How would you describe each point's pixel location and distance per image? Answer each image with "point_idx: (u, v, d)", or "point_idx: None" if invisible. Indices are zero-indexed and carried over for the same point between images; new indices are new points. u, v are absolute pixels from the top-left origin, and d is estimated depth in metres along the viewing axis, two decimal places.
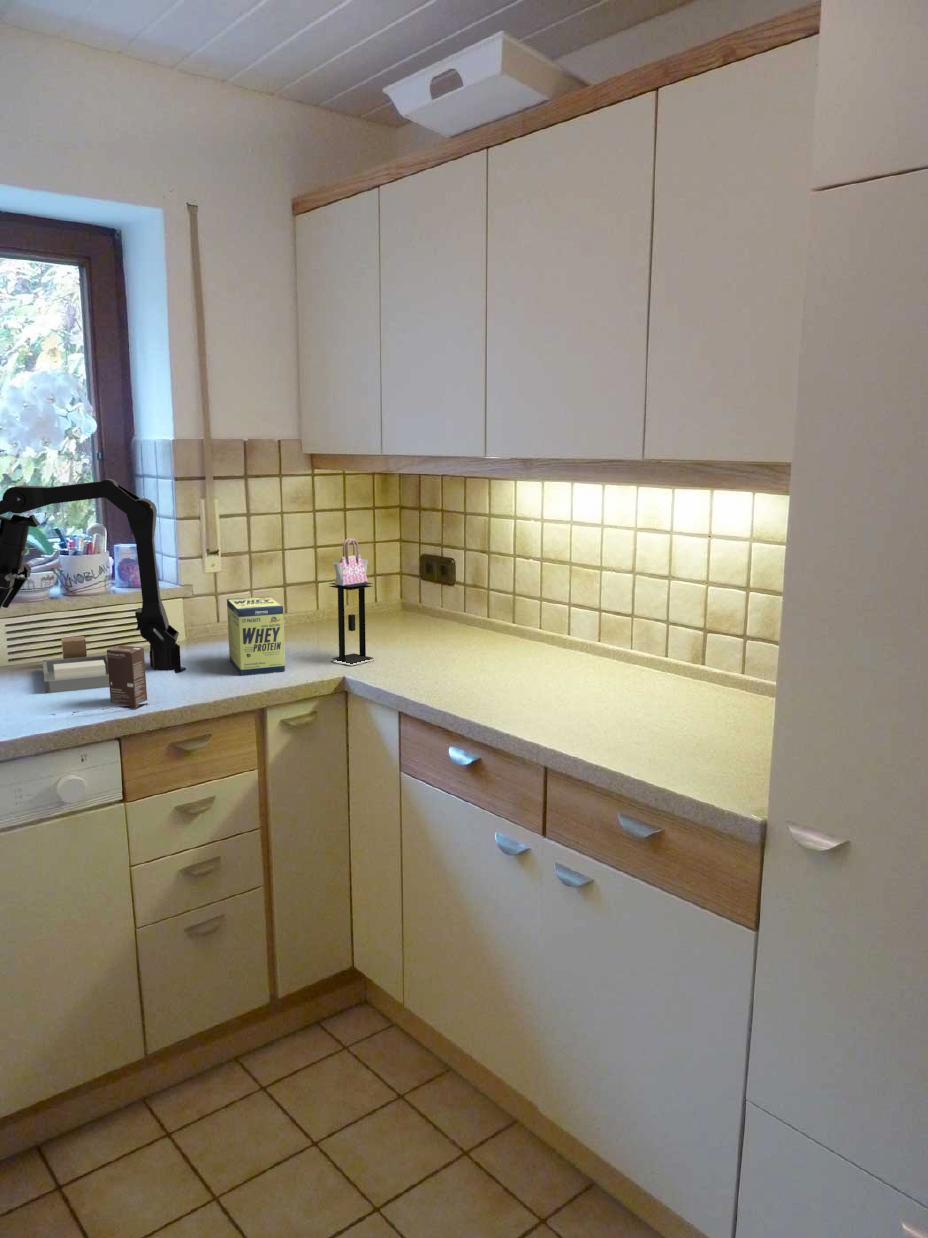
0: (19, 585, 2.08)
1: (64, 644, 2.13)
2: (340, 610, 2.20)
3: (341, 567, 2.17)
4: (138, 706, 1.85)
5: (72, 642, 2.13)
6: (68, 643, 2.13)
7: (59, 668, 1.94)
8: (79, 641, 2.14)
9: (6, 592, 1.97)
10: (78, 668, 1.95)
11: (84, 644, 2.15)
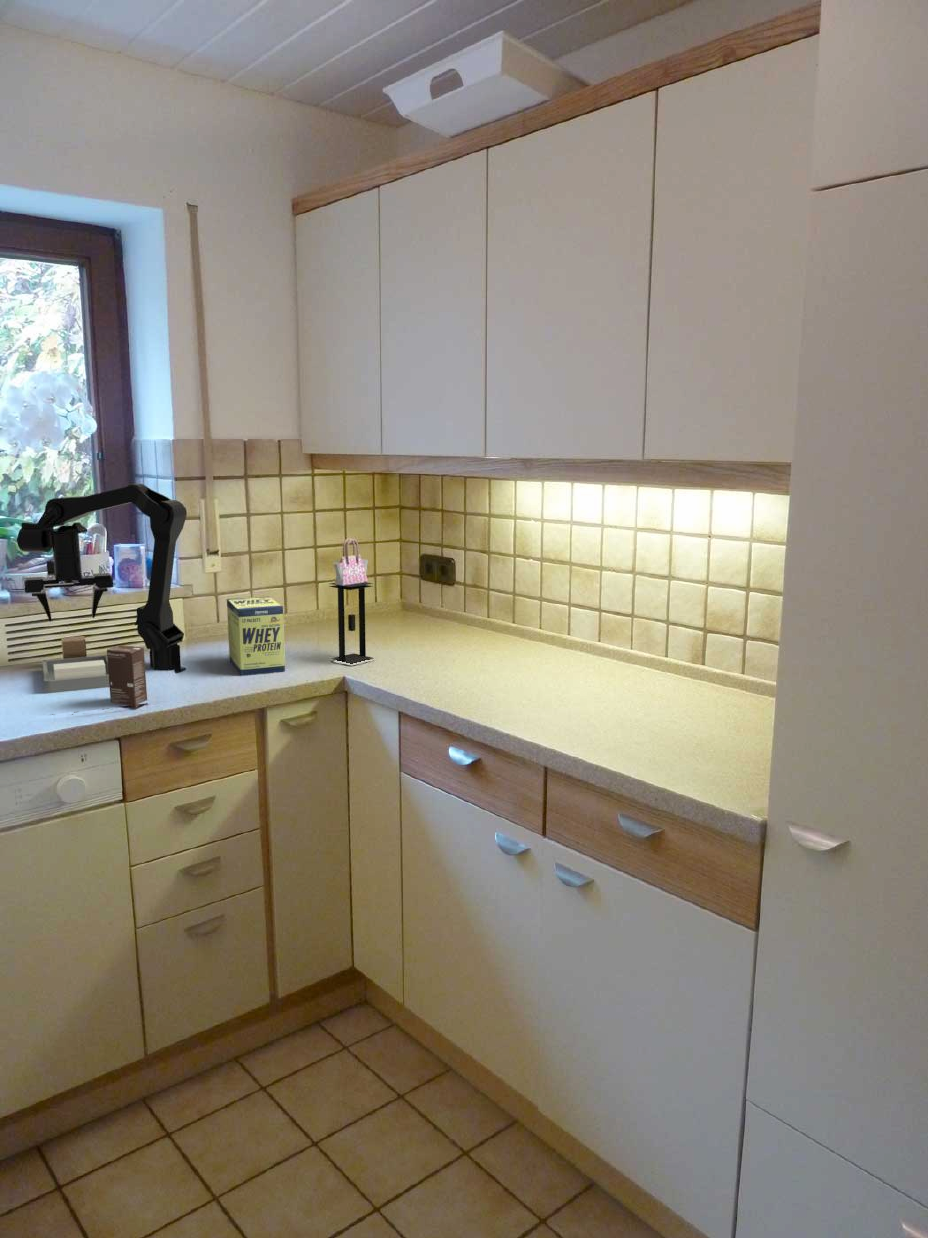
0: (93, 595, 2.14)
1: (64, 644, 2.13)
2: (340, 610, 2.20)
3: (341, 567, 2.17)
4: (138, 706, 1.85)
5: (71, 642, 2.13)
6: (68, 643, 2.13)
7: (59, 668, 1.94)
8: (79, 641, 2.14)
9: None
10: (78, 668, 1.95)
11: (84, 644, 2.15)
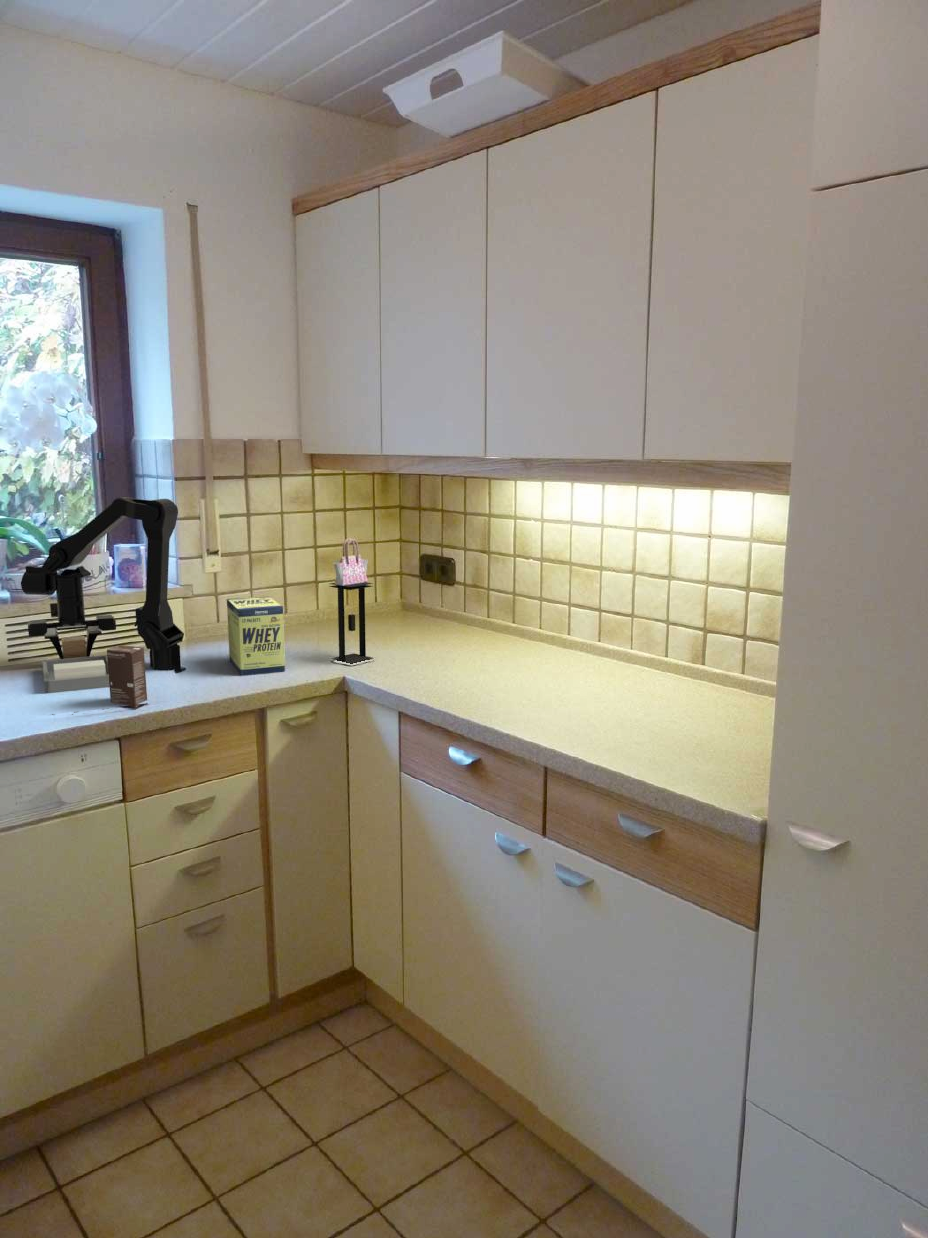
0: (87, 638, 2.15)
1: (64, 644, 2.13)
2: (340, 610, 2.20)
3: (341, 567, 2.17)
4: (138, 706, 1.85)
5: (72, 642, 2.13)
6: (68, 643, 2.13)
7: (59, 668, 1.94)
8: (79, 641, 2.14)
9: None
10: (78, 668, 1.95)
11: (84, 644, 2.15)
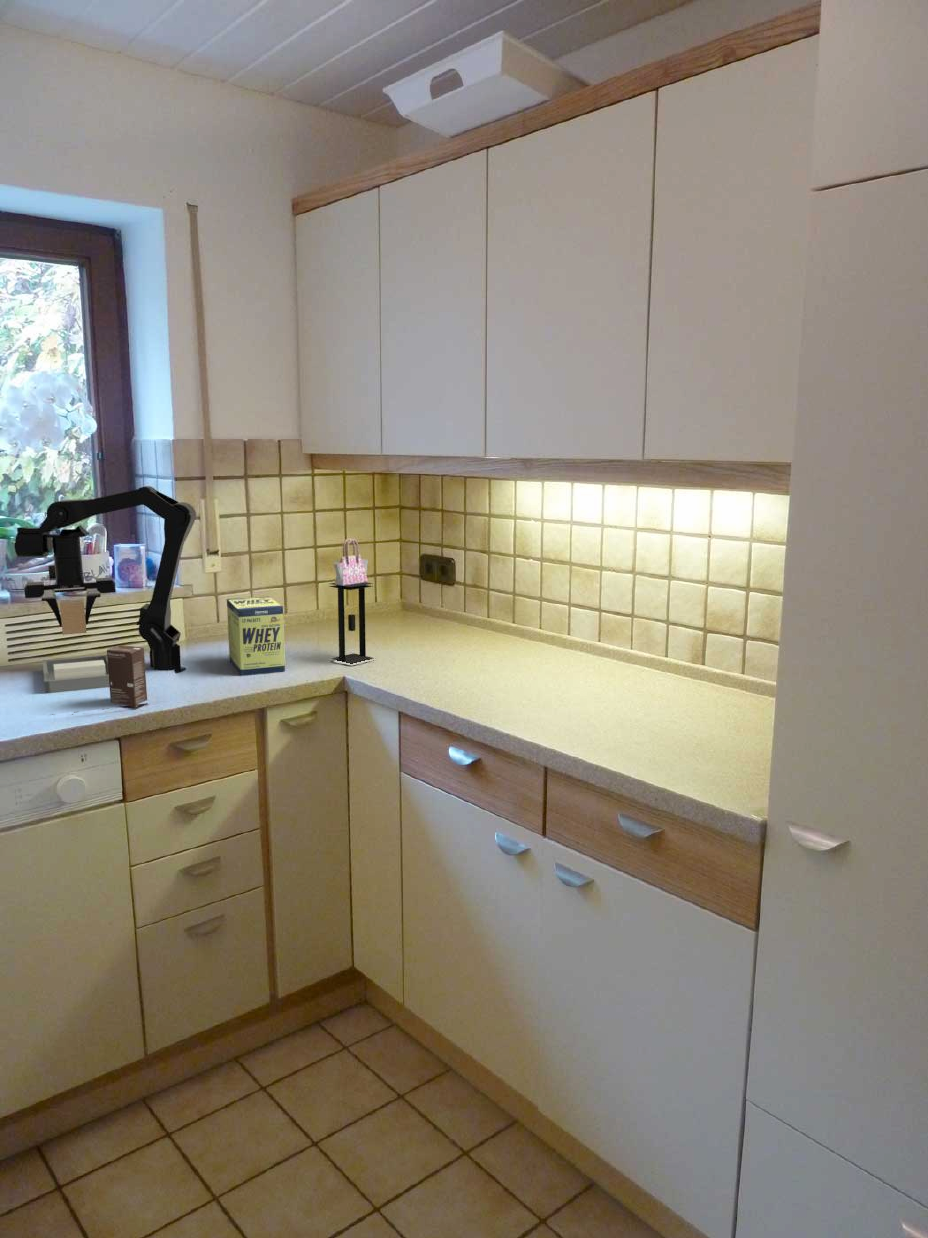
0: (86, 601, 2.08)
1: (62, 606, 2.06)
2: (340, 610, 2.20)
3: (341, 567, 2.17)
4: (138, 706, 1.85)
5: (69, 604, 2.07)
6: (66, 605, 2.06)
7: (59, 668, 1.94)
8: (77, 603, 2.07)
9: None
10: (78, 668, 1.95)
11: (82, 607, 2.08)
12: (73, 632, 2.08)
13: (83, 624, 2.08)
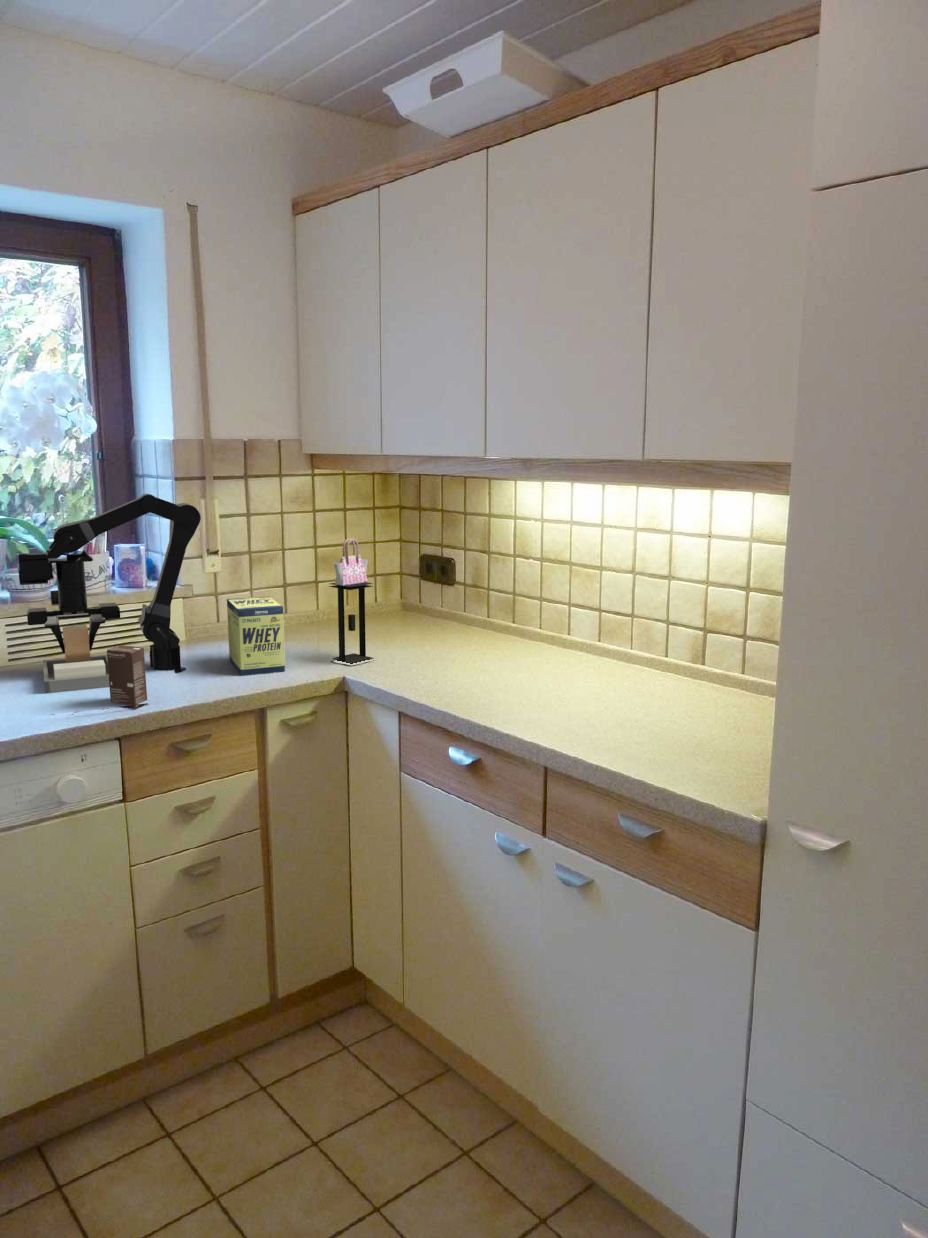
0: (90, 627, 2.04)
1: (65, 633, 2.01)
2: (340, 610, 2.20)
3: (341, 567, 2.17)
4: (138, 706, 1.85)
5: (73, 631, 2.02)
6: (70, 632, 2.02)
7: (59, 668, 1.94)
8: (81, 630, 2.03)
9: None
10: (78, 668, 1.95)
11: (86, 633, 2.03)
12: (77, 659, 2.03)
13: (87, 651, 2.04)
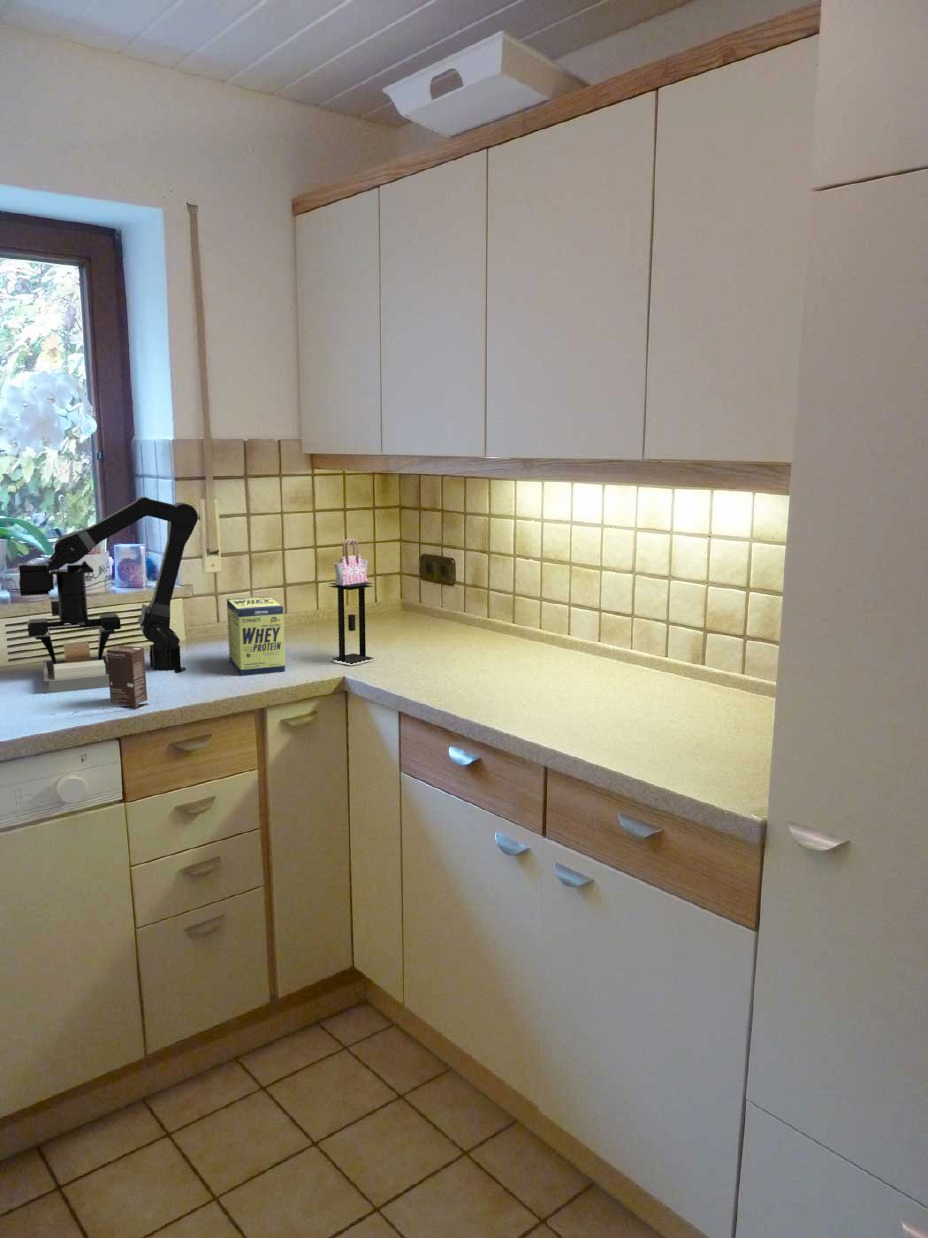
0: (100, 637, 2.05)
1: (66, 650, 2.02)
2: (340, 610, 2.20)
3: (341, 567, 2.17)
4: (138, 706, 1.85)
5: (74, 648, 2.03)
6: (71, 649, 2.02)
7: (59, 668, 1.94)
8: (82, 647, 2.03)
9: None
10: (78, 668, 1.95)
11: (88, 650, 2.04)
12: None
13: None
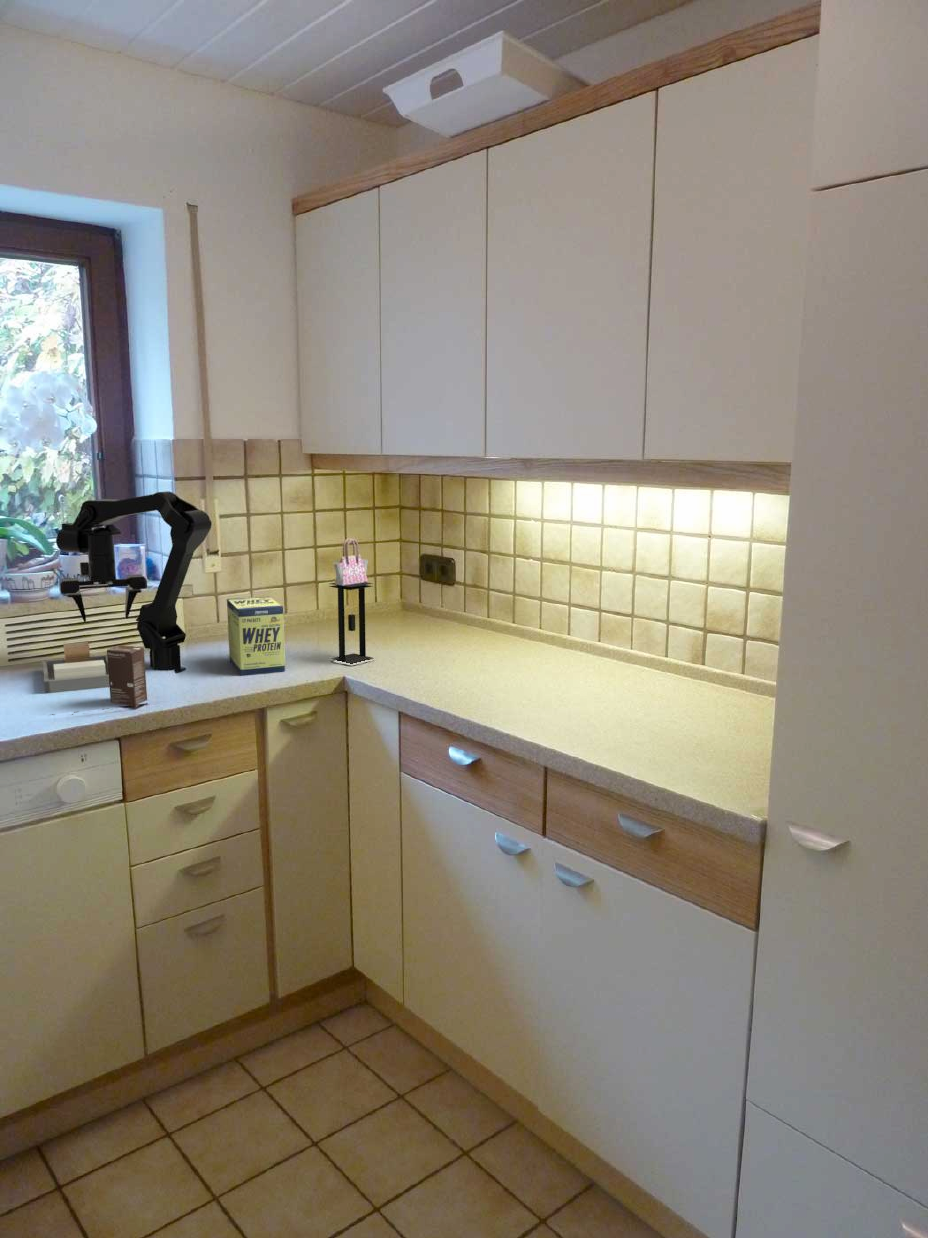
0: (127, 596, 2.16)
1: (66, 650, 2.02)
2: (340, 610, 2.20)
3: (341, 567, 2.17)
4: (138, 706, 1.85)
5: (74, 648, 2.03)
6: (71, 649, 2.02)
7: (59, 668, 1.94)
8: (82, 647, 2.03)
9: None
10: (78, 668, 1.95)
11: (88, 650, 2.04)
12: None
13: None
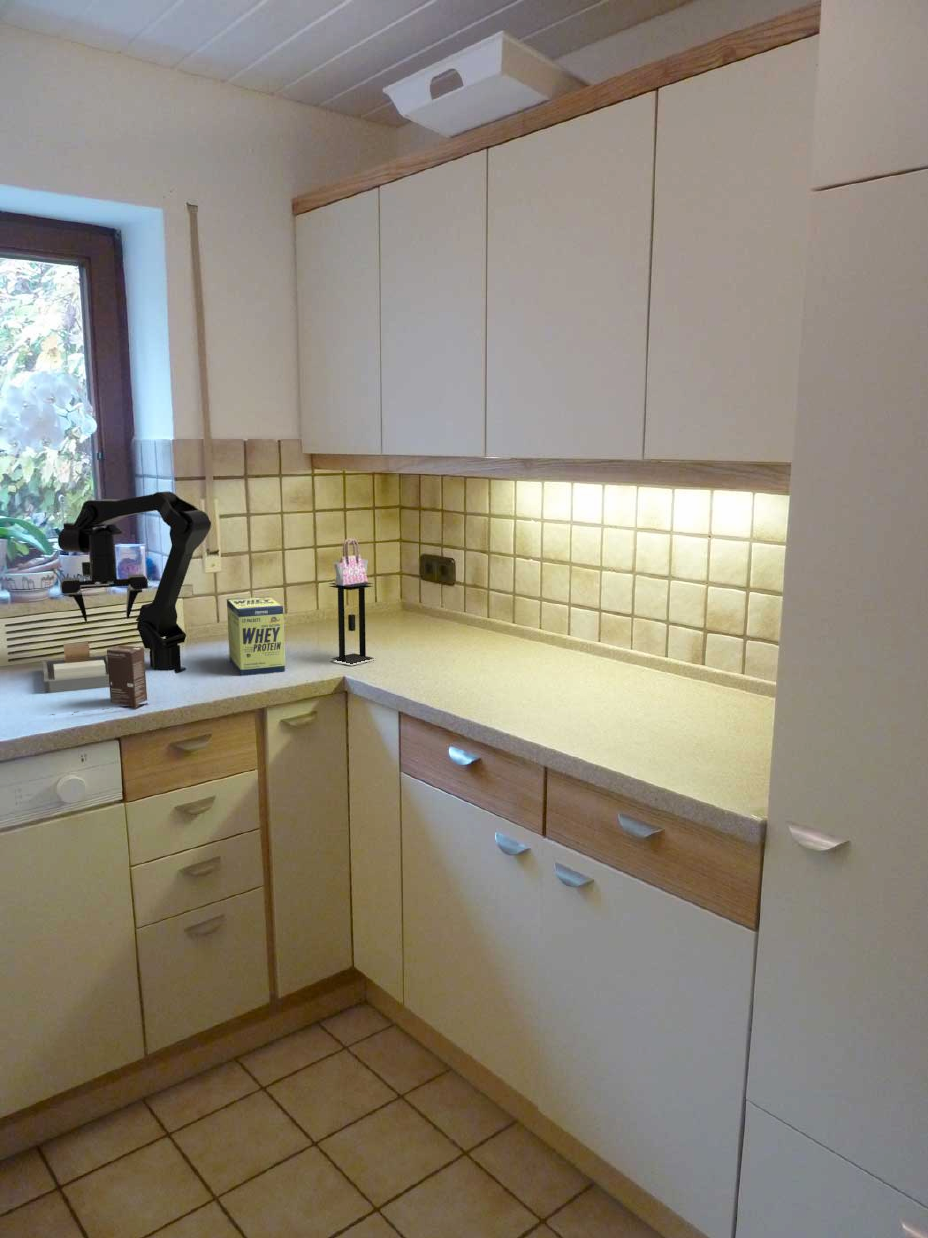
0: (128, 596, 2.17)
1: (66, 650, 2.02)
2: (340, 610, 2.20)
3: (341, 567, 2.17)
4: (138, 706, 1.85)
5: (74, 648, 2.03)
6: (71, 649, 2.02)
7: (59, 668, 1.94)
8: (82, 647, 2.03)
9: None
10: (78, 668, 1.95)
11: (88, 650, 2.04)
12: None
13: None
